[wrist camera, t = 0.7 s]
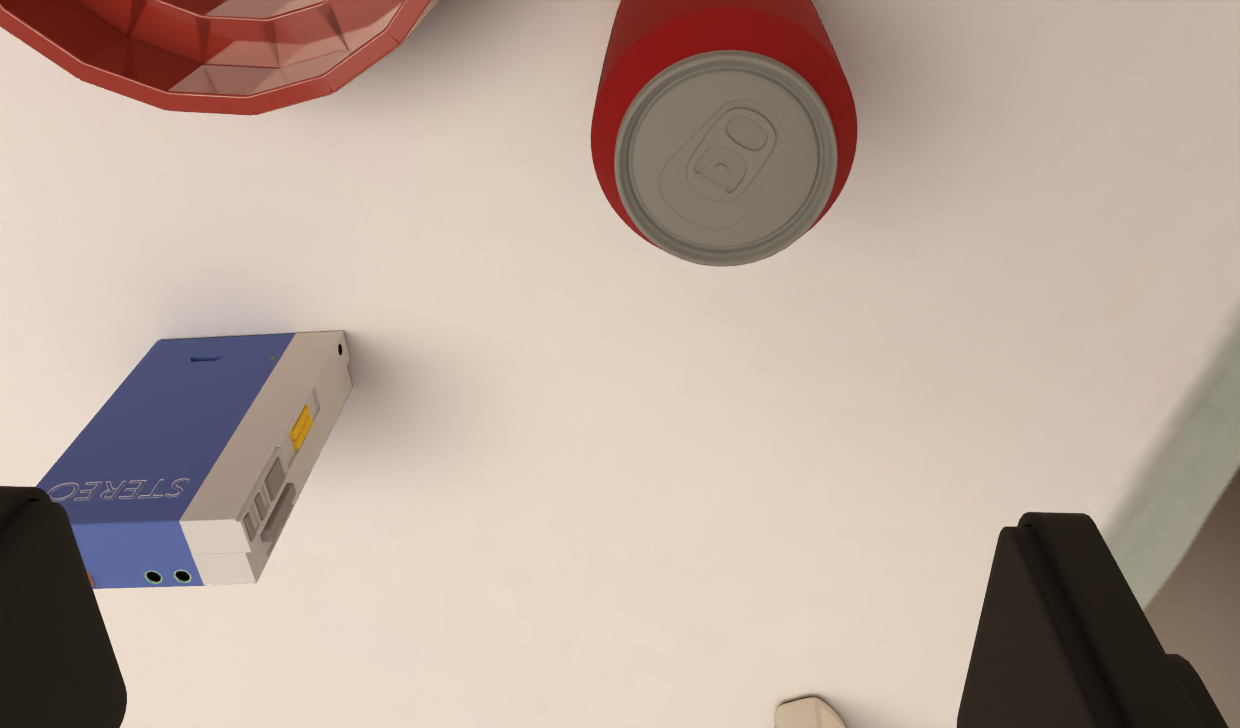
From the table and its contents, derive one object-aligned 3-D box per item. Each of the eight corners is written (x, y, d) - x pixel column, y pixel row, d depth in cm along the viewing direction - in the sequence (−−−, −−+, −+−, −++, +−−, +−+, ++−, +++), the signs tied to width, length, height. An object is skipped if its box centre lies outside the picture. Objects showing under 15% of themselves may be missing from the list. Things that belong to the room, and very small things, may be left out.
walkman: (178, 396, 44) (27, 600, 34) (157, 339, 43) (-6, 534, 33) (360, 388, 44) (262, 594, 33) (345, 330, 42) (238, 526, 32)
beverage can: (576, 67, 36) (533, 205, 26) (685, -114, 33) (686, -38, 23) (737, 168, 38) (757, 336, 28) (856, 5, 35) (928, 126, 24)
